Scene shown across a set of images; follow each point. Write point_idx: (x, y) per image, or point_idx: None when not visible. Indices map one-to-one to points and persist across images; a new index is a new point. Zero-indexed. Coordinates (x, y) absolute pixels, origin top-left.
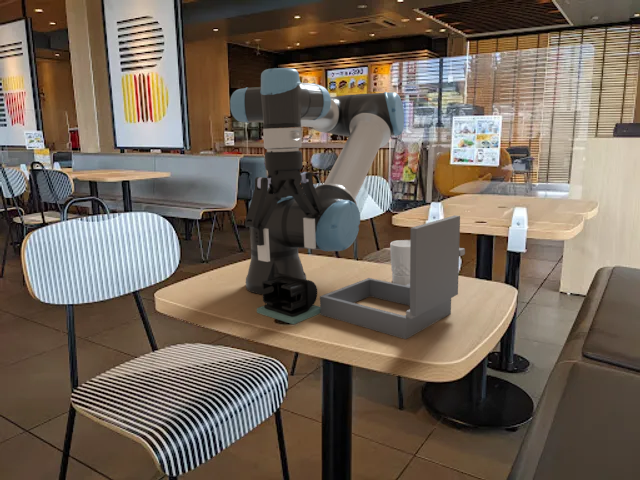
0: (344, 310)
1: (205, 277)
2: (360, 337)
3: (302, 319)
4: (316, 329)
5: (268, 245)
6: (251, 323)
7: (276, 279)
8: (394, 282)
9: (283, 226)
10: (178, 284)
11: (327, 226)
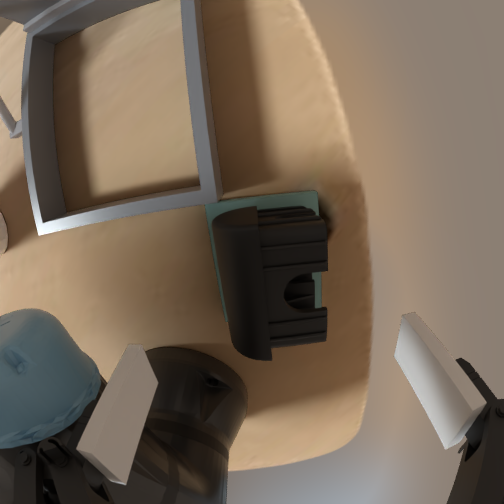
0: (208, 111)
1: (255, 463)
2: (256, 32)
3: (283, 193)
4: (296, 127)
5: (436, 354)
6: (367, 263)
7: (292, 328)
8: (6, 237)
9: (172, 489)
10: (302, 459)
11: (35, 383)
